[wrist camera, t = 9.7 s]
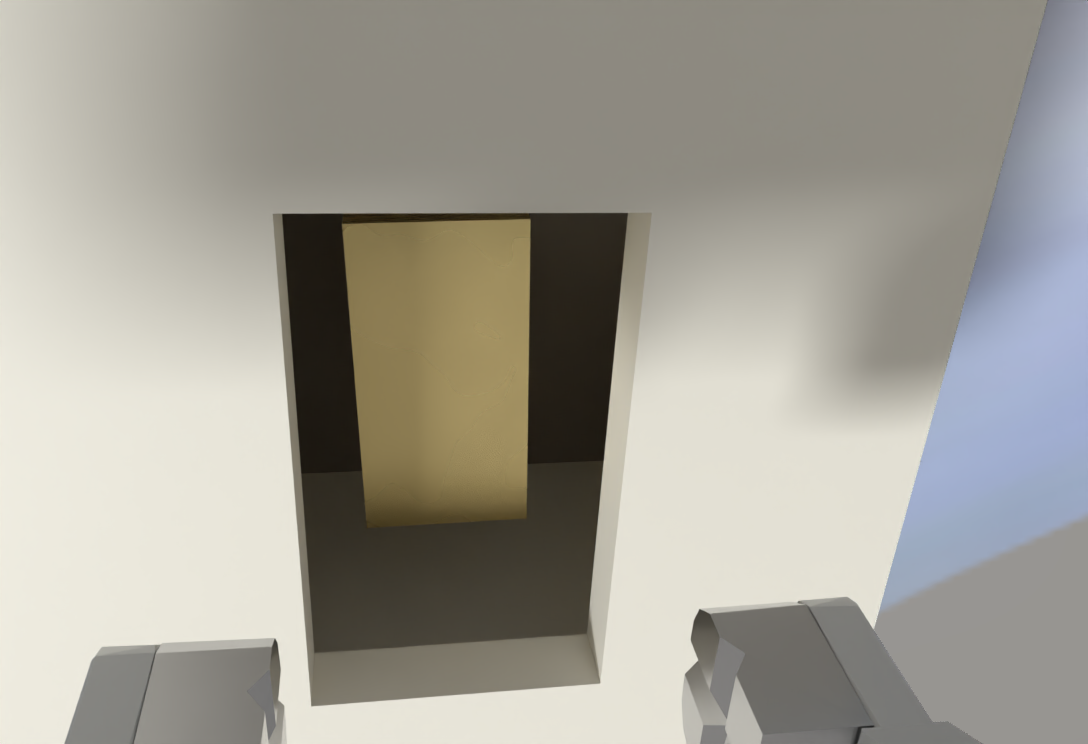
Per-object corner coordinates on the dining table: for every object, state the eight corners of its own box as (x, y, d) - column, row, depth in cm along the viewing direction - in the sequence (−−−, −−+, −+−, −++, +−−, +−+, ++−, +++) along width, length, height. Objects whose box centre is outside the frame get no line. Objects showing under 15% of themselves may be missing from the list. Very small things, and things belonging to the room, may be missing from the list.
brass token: (356, 123, 18) (342, 223, 13) (498, 121, 18) (530, 219, 14) (374, 373, 20) (366, 528, 16) (499, 368, 20) (526, 518, 16)
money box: (54, -196, 17) (-281, -207, 8) (748, -155, 19) (1082, -127, 10) (162, 498, 23) (43, 902, 15) (664, 475, 25) (821, 820, 17)
